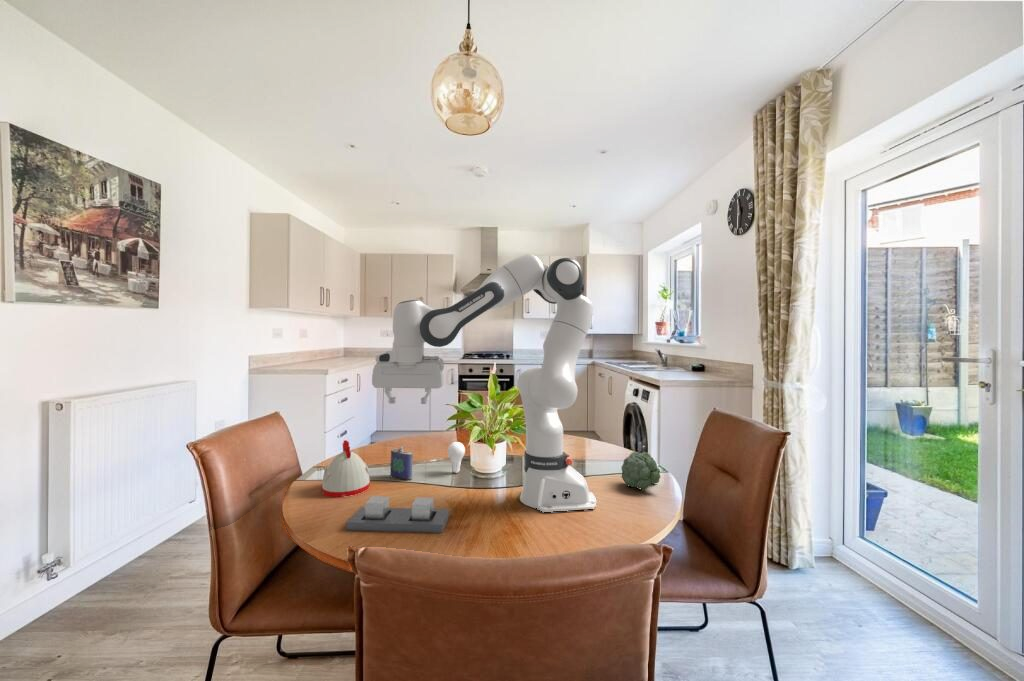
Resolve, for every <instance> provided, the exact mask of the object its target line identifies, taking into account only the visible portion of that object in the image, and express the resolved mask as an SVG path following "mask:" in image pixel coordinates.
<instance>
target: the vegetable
mask: <svg viewBox="0 0 1024 681" xmlns="http://www.w3.org/2000/svg"><path fill="white" fill-rule="evenodd" d="M621 471H622V472H621V479H622V481H623V482H624V483H625V485H626V484H627V485H629V486H631V488H634V487H635V486H636V487H638V488H641V490H647V488H650V486H651V484H654V483H655V484H659V482H660V479H661V475H660V474H661V470H660V468H659V467H658V465H657V462H656V460H654V458H653V457H652V456H651V454H649V453H648V452H646V451H642V452H640V451H633V452H631V453H630V455H628V456H627V457H625V458H624V460H623V463H622V465H621ZM627 485H626V486H627ZM629 486H628V487H629ZM636 487H635V488H636Z"/></svg>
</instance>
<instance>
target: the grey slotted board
mask: <svg viewBox="0 0 1024 681" xmlns="http://www.w3.org/2000/svg"><path fill="white" fill-rule="evenodd" d="M449 519H450V509H448V508H444V509H443V508H434V514H433V520H432V522H422V521H412V507H409V508H408V507H406V508H405V507H389V515H388V516H387V518H386V519H385V520H384V521H383V520H365V506H360V508H358V509H357V510H356V512H354V513H353V514H352V515H351V517H350V518H349V519H348V520H346V522H345V531H354V532H355V531H356V532H357V531H358V532H359V531H360V532H389V533H390V532H391V533H393V532H394V533H395V532H396V533H402V532H403V533H425V532H433V534H434V533H435V534H443V533H444V530H445V528H446V525H447V523H448V521H449Z"/></svg>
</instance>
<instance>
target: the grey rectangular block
mask: <svg viewBox="0 0 1024 681" xmlns="http://www.w3.org/2000/svg"><path fill="white" fill-rule="evenodd" d="M364 504H365V506H364V507H365V520H383V521H384V520H385V519H386V518H387V516H388V515H389V508H390V506H389V505H390V496H383V495H381V496H379V495H378V496H377V495H371V496H370V498H369V499H367V500H366V502H365V503H364Z"/></svg>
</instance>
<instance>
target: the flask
mask: <svg viewBox="0 0 1024 681" xmlns="http://www.w3.org/2000/svg"><path fill="white" fill-rule="evenodd" d="M404 449H405V446H398V447H397V448H395V449H391V451H390V477H391V476H392V477H391V478H393V477H394V479H397V480H401V479H402V480H403V481H408V480H409V481H411V480H413V457H414V456H413V452H409V451H404Z"/></svg>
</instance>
